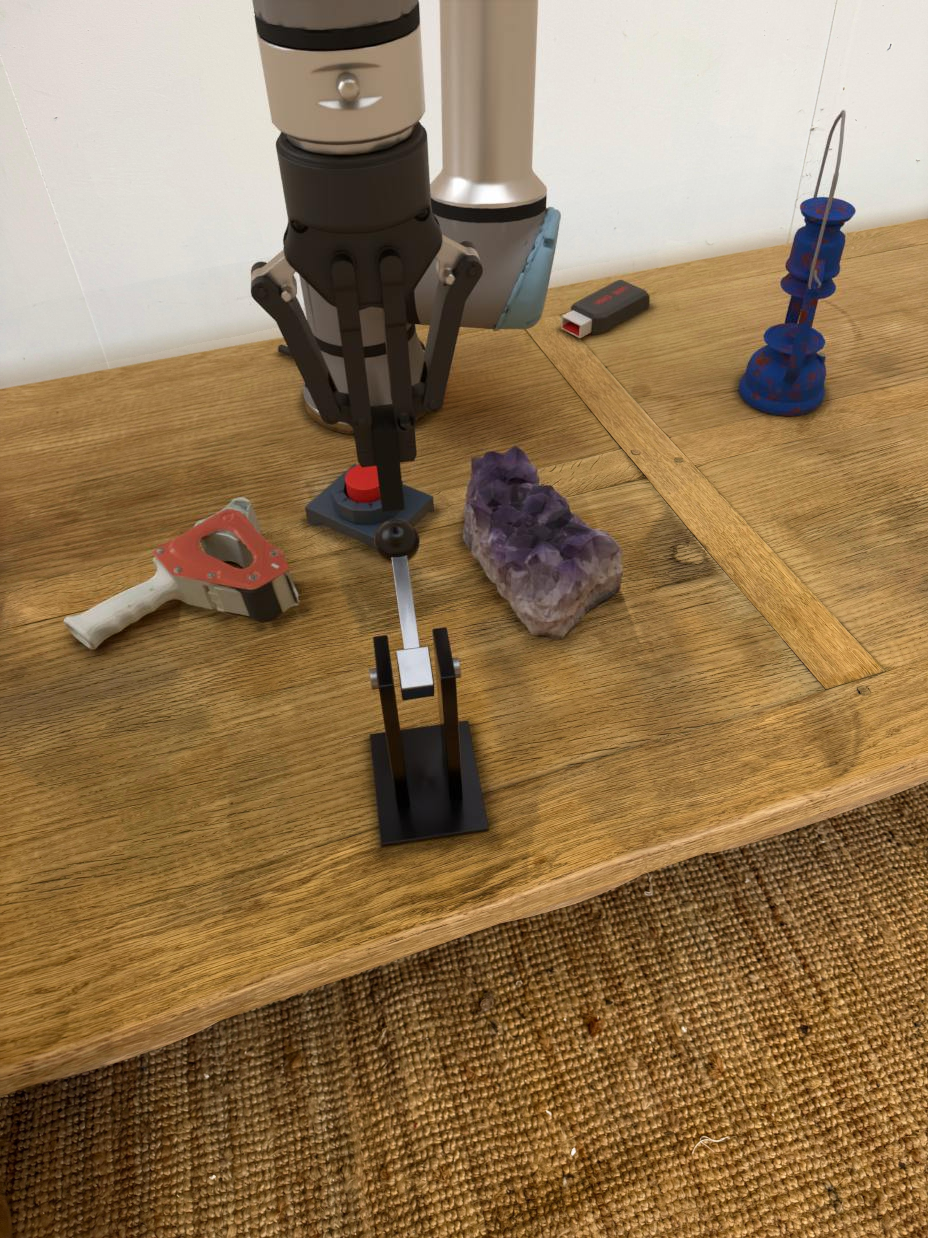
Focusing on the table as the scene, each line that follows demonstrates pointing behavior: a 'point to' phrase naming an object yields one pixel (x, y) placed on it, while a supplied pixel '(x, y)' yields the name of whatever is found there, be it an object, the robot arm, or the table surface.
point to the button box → (363, 511)
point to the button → (363, 484)
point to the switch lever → (406, 608)
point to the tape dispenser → (202, 577)
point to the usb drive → (605, 309)
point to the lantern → (801, 309)
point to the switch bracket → (424, 760)
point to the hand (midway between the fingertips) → (391, 497)
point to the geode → (536, 545)
